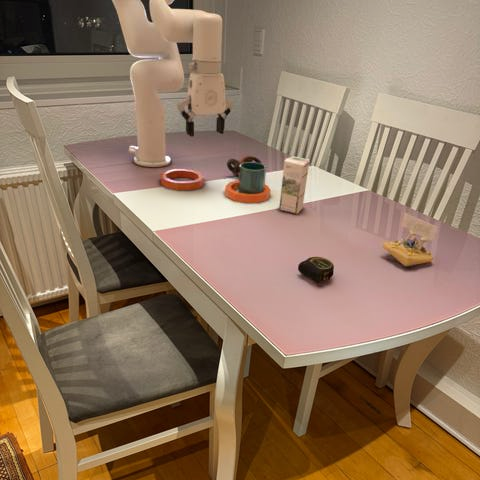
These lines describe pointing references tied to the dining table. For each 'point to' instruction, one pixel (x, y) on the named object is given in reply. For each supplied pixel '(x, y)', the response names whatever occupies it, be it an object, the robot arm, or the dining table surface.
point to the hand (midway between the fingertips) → (205, 134)
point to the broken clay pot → (237, 163)
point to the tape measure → (317, 269)
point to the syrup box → (293, 184)
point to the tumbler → (251, 178)
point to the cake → (412, 242)
